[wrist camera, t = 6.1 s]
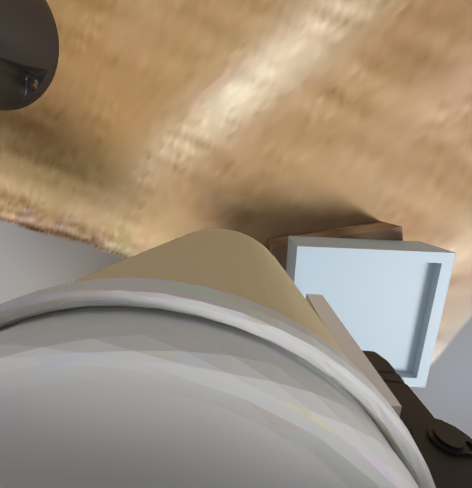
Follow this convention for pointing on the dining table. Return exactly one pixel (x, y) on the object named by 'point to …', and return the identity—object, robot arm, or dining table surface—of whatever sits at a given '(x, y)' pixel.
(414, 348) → the block top
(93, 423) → the coffee cup
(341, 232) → the block bottom
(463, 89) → the dining table surface
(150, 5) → the dining table surface
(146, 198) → the dining table surface
